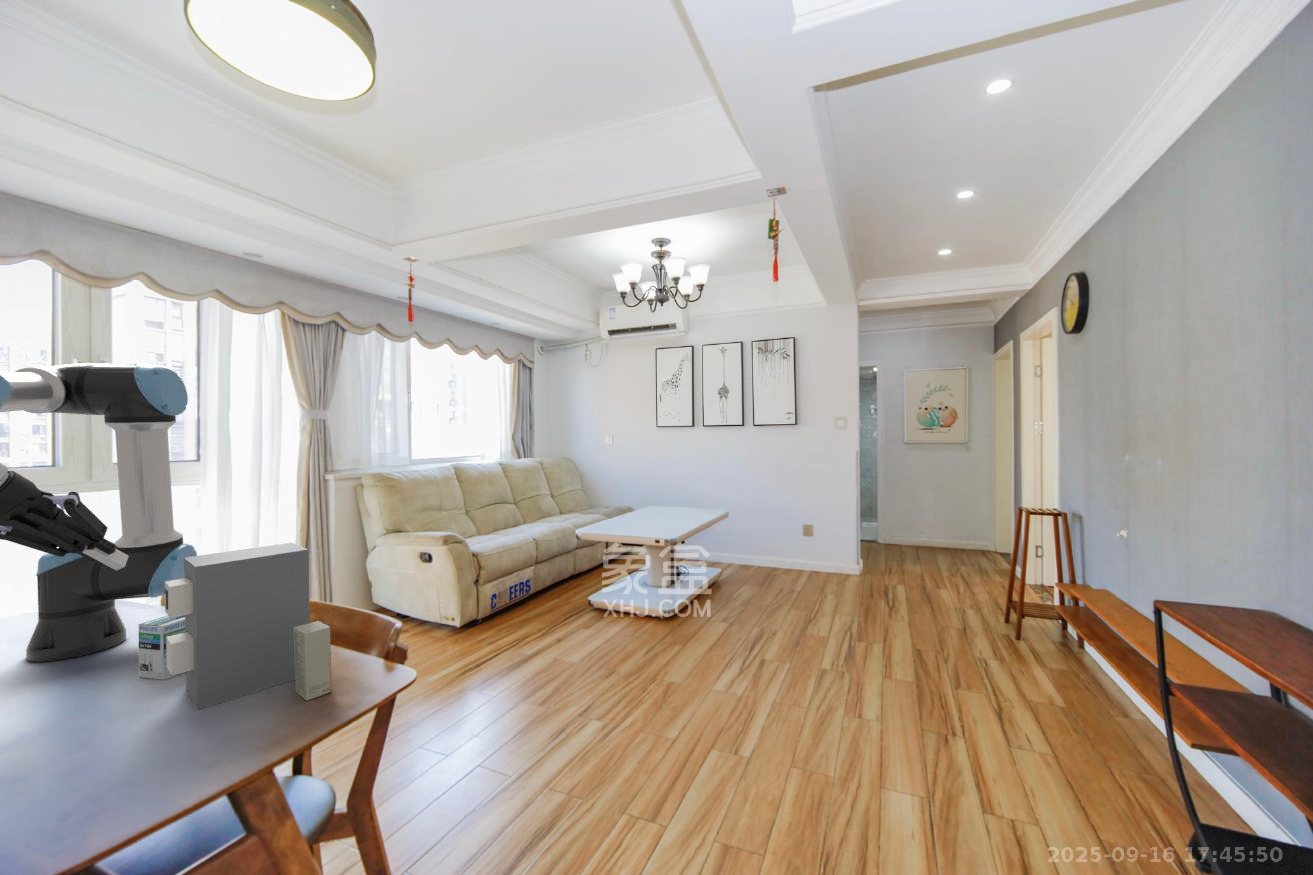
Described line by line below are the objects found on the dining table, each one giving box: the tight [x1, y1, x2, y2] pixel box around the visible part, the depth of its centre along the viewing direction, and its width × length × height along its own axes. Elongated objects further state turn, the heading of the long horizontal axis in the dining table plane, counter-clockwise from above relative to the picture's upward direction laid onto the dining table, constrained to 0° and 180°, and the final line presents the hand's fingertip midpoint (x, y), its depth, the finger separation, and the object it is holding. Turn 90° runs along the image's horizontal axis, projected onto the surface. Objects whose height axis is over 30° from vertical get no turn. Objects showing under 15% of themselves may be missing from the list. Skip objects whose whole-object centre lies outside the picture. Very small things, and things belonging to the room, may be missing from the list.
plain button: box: [166, 632, 194, 676], centre depth 93 cm, size 5×6×5 cm
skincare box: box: [293, 620, 333, 701], centre depth 96 cm, size 6×4×12 cm
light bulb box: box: [138, 614, 185, 681], centre depth 107 cm, size 11×7×11 cm, turn 168°
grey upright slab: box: [184, 542, 311, 711], centre depth 100 cm, size 11×17×25 cm, turn 140°
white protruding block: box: [164, 578, 193, 618], centre depth 93 cm, size 5×6×5 cm
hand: (122, 562), depth 97 cm, fingers closed
